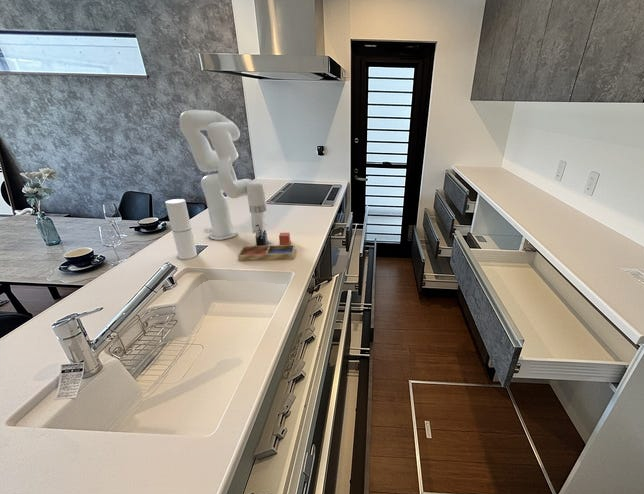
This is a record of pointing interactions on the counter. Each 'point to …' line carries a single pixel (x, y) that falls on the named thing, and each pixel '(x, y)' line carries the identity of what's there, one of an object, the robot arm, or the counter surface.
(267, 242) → the blue block
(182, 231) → the cylindrical container
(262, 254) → the tray
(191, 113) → the robot arm
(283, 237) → the red block
